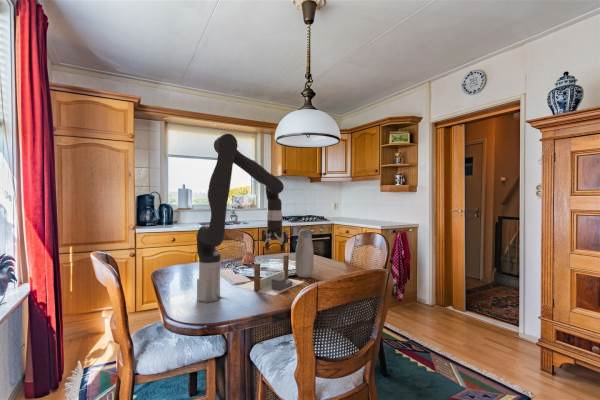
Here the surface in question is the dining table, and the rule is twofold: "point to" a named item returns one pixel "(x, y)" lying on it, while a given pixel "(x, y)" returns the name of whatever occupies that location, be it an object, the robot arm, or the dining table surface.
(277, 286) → the doorstop
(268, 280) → the gate door
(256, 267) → the gate frame
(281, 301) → the dining table surface
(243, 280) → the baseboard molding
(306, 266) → the grey bottle
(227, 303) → the dining table surface
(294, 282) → the floor mat
